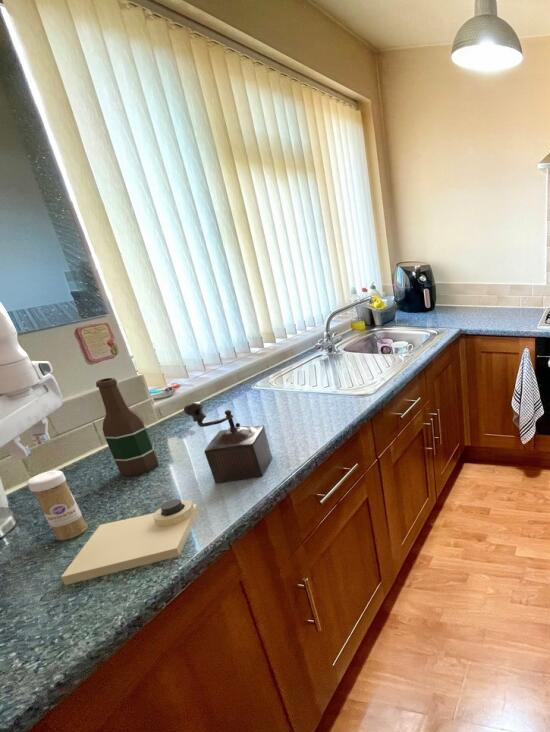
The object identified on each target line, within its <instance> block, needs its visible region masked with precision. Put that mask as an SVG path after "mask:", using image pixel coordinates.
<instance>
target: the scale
mask: <svg viewBox="0 0 550 732" xmlns="http://www.w3.org/2000/svg"><path fill="white" fill-rule="evenodd" d="M180 500H181V503H182V505H183V509H182V510H181V511H180V512H178V513H176V514H173V515H169V516H164V515H163V513H162V510H161V507H160V508H158V509H156V511H154V512H153V513H148V514H144V515H138V516H135V517H134V516H133V517H130V518H129V517H128V518H125V519H121V520H117V521H112V522H108V523H102V524H99V525H98V527H97V528H96V529H95V531H94V532H93V533H92V535H91V536H90V537H89V539H88V540H87V541H86V543H84V546H83V547H82V548H81V549H80V551H79V552H78V553H77V554H76V556H75V557H74V558H73V560H72V562H71V563H70V564H69V566H68V567H67V568H66V569H65V571H64V572H63V573H62V575H61V576H60V579H61V581H62V582H63V584H64V585H65V586H67V585H71V584H75V583H80V582H83V581H87V580H91V579H95V578H100V577H104V576H106V575H111V574H114V573H118V572H123V571H126V570H129V569H134V568H138V567H141V566H145V565H149V564H154V563H157V562H161V561H165V560H169V559H174V558H177V557H180V556H181V554H182V552H183V549H184V547H185V545H186V542H187V540H188V538H189V536H190V533H191V531H192V528H193V526H194V524H195V522H196V520H197V517H198V515H199V513H200V508H199V506H198V504H197V503H193V502H191V500H187V499H180Z"/></svg>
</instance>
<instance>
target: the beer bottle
mask: <svg viewBox="0 0 550 732" xmlns="http://www.w3.org/2000/svg"><path fill="white" fill-rule="evenodd" d="M95 386H96V388H98V390H99V393H100V396H101V400H102V402H103V406H104V409H105V416H104V418H103V421H102V434H103V437H104V438H105V442H106V444H107V445H108V448H109V451H110V454H111V456H112V457H113V460H114V462H115V464H116V467H117V469H118V471H119V473H120V475H121V476H123V477H135V476H139V475H143V474H146V473H148V472H151V471H152V470H154V469H155V468H157V467H158V466H159V458H158V455H157V452H156V449H155V446H154V444H153V441H152V438H151V436H150V433H149V430H148V428H147V425H146V422H145V421H144V418H143V416H141V415H140V414H139V412H138V411H136V410H134V409H133V408H130V406H129V405H128V404H127V402H126V400H125V398H124V396H123V393H122V392H121V390H120V388H119V385H118V380H117V379H116V378H115V377H106V378H100V379H98V380H96V381H95Z"/></svg>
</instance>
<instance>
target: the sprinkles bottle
mask: <svg viewBox="0 0 550 732" xmlns="http://www.w3.org/2000/svg"><path fill="white" fill-rule="evenodd" d="M26 484H27V486H28V489H29V490H30V492H31V493H33V495H34V496H35V498H36V499H35V500H36V501H37V503H38V505H39V507H40V509H41V511H42V513H43V515H44V517H45V519H46V521H47V523H48V525H49V527H51V529H52V531H53V533H54V535H55V539H56V540H57V541H67V540H71V539H74V538H77V537H79V536H81V535H82V534H84V533H85V532H86V531H88V529H89V524H87V523H86V521H85V519H84V517H83V515H82V514H83V513H82V512H81V509H80V507H79V505H78V503H77V501H76V499H75V497H74V495H73V493H72V492H71V490H70V488H69V486H68V484H67V478H66V476H65V474H64V471H62V470H48V471H46V472H41V473H38V474H37V475H35V476H32V477H31V478H29V479H28V480H27V482H26Z"/></svg>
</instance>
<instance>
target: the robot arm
mask: <svg viewBox="0 0 550 732" xmlns="http://www.w3.org/2000/svg"><path fill="white" fill-rule="evenodd" d="M53 372H54V368H53V366H52V363H51V362H50V361H47V360H46V361H45V360H44V361H43V360H41V361H39V360H31V358H30V357H29V355H28V353H27V352H26V351H25V350H24V349H23V348H22V346H21V345H20V343H19V340H18V331H17V329H16V327H15V325H14V323H13V321H12V319H11V317H10V315H9V314H8V312H7V310H6V308H5V306H4V305H3V304H2V302H1V301H0V449H2V450H4V451H5V452H7V453H9V455H10V457H11V458H12V460H14V461H21V460H25V459H27V458H29V457H30V456H31V455H32V451H31V448H30V447H29V445H25V446H24V445H23V444H22V443H21V442H20V441H21V437H20V435H22V434H23V433H25V432H26V431H27V430H31V436H30V437H29V438H30V440H31V441H32V444H33V445H35V446H39V445H45V444H46V443H48V442H49V441H50V440H51V437H50V433H49V432H48V431H49V420H48V418H47V417H48V416H49V415H51V414H53V413H54V412H55V411H57V410H58V409H60V408H61V407H62V406H63V403H64V402H63V401H64V398H63V395H62V391H61V389H60V387H59V384H58V382H57V380H56V378H55V376H54V375H53V374H52V373H53Z"/></svg>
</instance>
